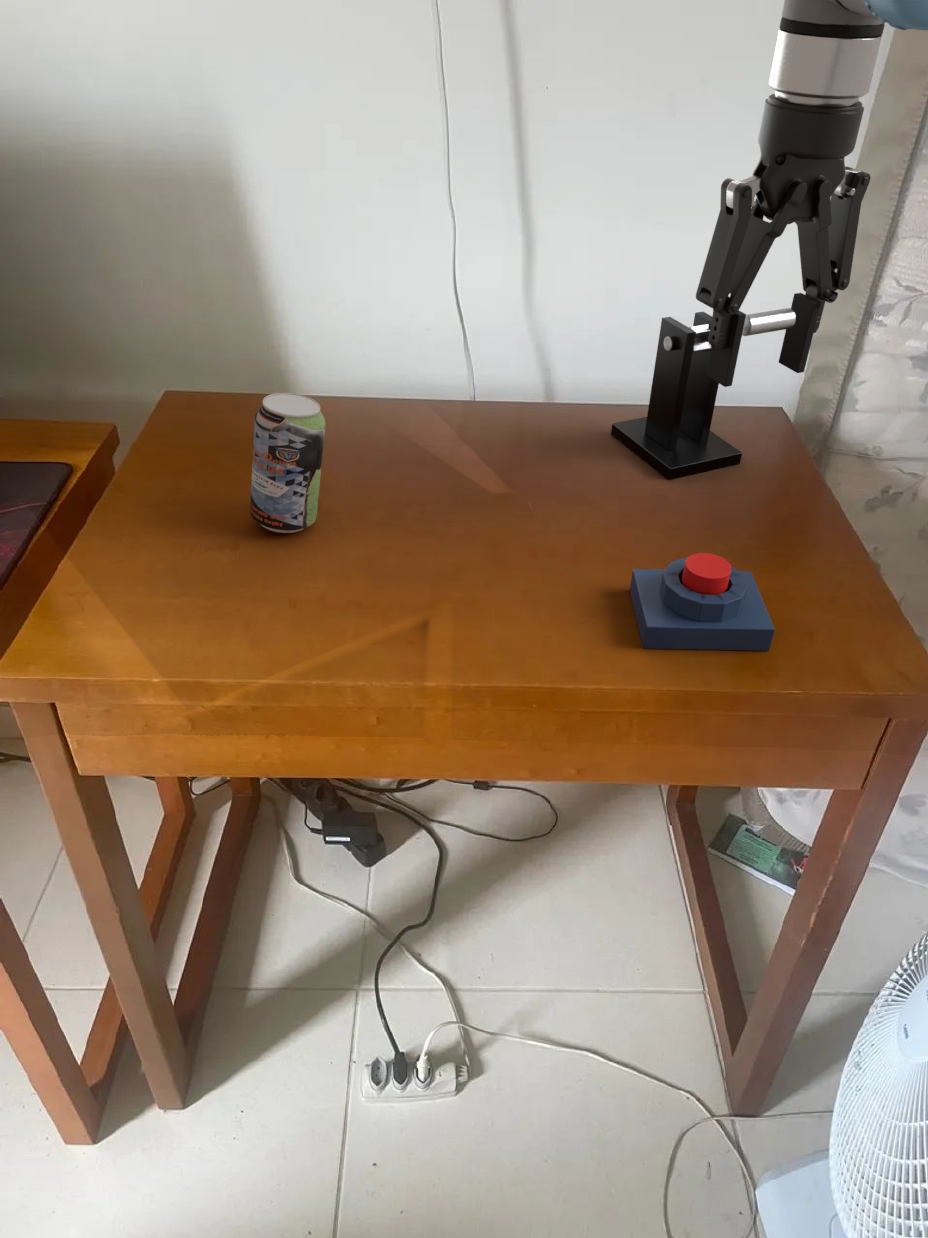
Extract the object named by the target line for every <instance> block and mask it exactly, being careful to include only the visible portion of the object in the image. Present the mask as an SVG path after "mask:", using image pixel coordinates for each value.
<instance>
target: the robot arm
mask: <svg viewBox="0 0 928 1238" xmlns="http://www.w3.org/2000/svg"><path fill="white" fill-rule="evenodd" d="M782 6H783V7H782V12H781V18H780V23H779V29H778V32H777V39H776V44H775V48H774V54H773V58H772V64H771V69H770V75H769V80H768V85H769V86H770V88H771V90H774V93H771V94H770V95H769V96H768V98H766V99H765V100H764V105H763V109H762V115H761V121H760V126H759V130H758V131H759V132H758V137H757V143H758V146H759V151H760V157H759V160H758V162H757V165H756V166H755V168H754V170H753V171H752V174H751V176H748V177H745V178H742V179H739V180H736V179H732V178H730V177H727V178H725V179H724V180H723V181H722V183H721V185H720V210H719V213H718V216H717V220H716V223H715V227H714V231H713V234H712V238H711V241H710V244H709V247H708V250H707V255H706V258H705V261H704V265H703V269H702V271H701V276H700V277H699V282H698V286H697V288H696V292H695V299H696V300H697V301H698V302H700V303H702V304H703V305H705V306H708V307H709V308H711V309H712V315H711V316H712V321H711V328H710V333H709V338H708V340H709V344H710V345H712V350H711V355H710V361H709V366H708V372H707V376H708V377H710V378H711V379H713V380H715V381H716V382H718V383H719V385H721V386H722V387H724V388H727V387H732V386H733V381H734V376H735V371H736V366H737V362H738V357H739V352H740V348H741V347H740V346H741V341H742V337H743V335H742V333H743V328H744V323H745V318H746V315H747V314H746V313H745V312H742V310H741V307H742V305H743V303H744V301H745V299H746V298H747V295H748V293H749V291H750V289H751V288H752V286H753V283H754V281H755V279H756V277H757V276H758V274H759V271H760V269H761V268H762V266H763V263H764V262H765V260H766V258H767V256H768V254H769V252H770V250H771V248H772V246H773V243H774V242H775V240H776V239H777V238H780V237H781V236H782V235H783V234H784V232H785V230H786V227H787V226H788V225H791V224H793V223H795V225H796V227H797V236H798V237H797V238H798V248H799V259H800V269H801V280H802V290H803V292H805V293H802V292H797V293H793V297H792V302H791V307H790V309H792V310H793V311H794V313H795V316H796V321H795V324H794V326H793V327H792V328H790V329H785V332H784V337H783V341H782V346H781V349H780V353H779V354H780V355H779V358H778V363H779V364H780V365H782V366H783V367H785V368H787V369H789V370H791V371H793V372H794V373H797V374H801V373H805V369H806V365H807V361H808V357H809V355H810V349H811V345H812V341H813V337H814V334H816V333H817V332H818V330H819V328H820V324H821V320H822V316H823V312H824V308H825V305H826V303H828V304H832V303H834V302H835V301H836V300H837V299H838V297H839V292H837V290H839V291H845V290H846V289H847V288H848V287H849V285H850V282H851V276H852V275H851V274H852V268H853V262H854V255H855V249H856V242H857V235H858V228H859V221H860V215H861V207H862V202H863V201H864V197H865V195H866V193H867V190H868V187H869V185H870V182H871V174H870V173H868V172H866V171H862V170H859V169H856V168H853V167H850V166H846V163H845V158H846V157H847V156H849V155H850V154H852V153H853V152H854V150H855V148H856V144H857V140H858V136H859V131H860V128H861V123H862V119H863V115H864V111H865V107H864V105H863V103H862V102H861V101H860V98H863V97H864V96H866V95H867V94H869V93H870V88H871V84H872V79H873V75H874V71H875V67H876V63H877V59H878V55H879V50H880V46H881V41H882V37H883V34H884V30H885V27H886V24H888V25H889V26H890V27H891V28H894V29H897V30H901V31H907V30H916V31H917V30H919V31H928V0H784V1H783V5H782ZM755 197H756V198H755ZM764 218H766V219H767V220H769V222H768V221H767V220H764Z"/></svg>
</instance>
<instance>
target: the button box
mask: <svg viewBox="0 0 928 1238" xmlns="http://www.w3.org/2000/svg"><path fill="white" fill-rule="evenodd" d="M688 557H689V556H686V557H683V558H679V559H676V560H674V561H671V562H670V563H669V564H668V565H667V566H666V568H665V569H656V568H655V569H653V568H652V569H650V568H649V569H648V568H647V569H646V568H644V569H643V568H633V569H632V573H631V579H630V585H629V593H630V597H631V601H632V605H633V610H634V615H635V618H636V623H637V627H638V631H639V636H640V640H641V645H642V648H643V649H651V650H652V649H653V650H656V649H657V650H700V651H706V650H707V651H752V652H755V651H756V652H757V651H758V652H760V651H761V652H769V651H770V649H771V646H772V642H773V639H774V636H775V631H776V628H775V626H774V623H773V621H772V618H771V616H770V614H769V611H768V609H767V606H766V604H765V601H764V599H763V597H762V595H761V592H760V590H759V587H758V584H757V581H756V580H755V577H754V575H753V572H752V571H747V570H746V571H745V570H738V569H737V568H735V567H734V566H732V565H731V574H730V578H729V583H728V587H727V590H726V591H725V592H724V593H722V594H719V595H702V594H699V593H696V592H693V591H690V590H689V589H687V588H686V587H685V586H684V585H683V583H682V576H683V570H684V565H685V561H686V559H687V558H688Z"/></svg>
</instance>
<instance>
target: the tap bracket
mask: <svg viewBox="0 0 928 1238" xmlns="http://www.w3.org/2000/svg"><path fill="white" fill-rule="evenodd" d="M712 316H713V315H710V314H708V313H707V312H705V311H698V312H695V313H694V318H693V324H692V326H698V325H704V324H709V330H710V328H711V321H712ZM689 327H690V326H688V325H686V324H683V323H682V322H680V321H678V320H677V319H675V318H673V317H671V316H665V317H661V322H660V329H659V335H658V340H657V341H658V342H657V347H656V355H655V362H654V368H653V373H652V374H653V375H652V381H651V388H650V395H649V402H648V407H647V413H646V414H647V416H643V417H638V418H634V419H627V420H623V421H618V422H613V423H612V424H611V429H610V435H611V436H612V437H614V438H615V439H616V440H618V441H619V442H620V443H621V444H623V445H624V446H625V447H626V448H627V449H629V450H630V451H632V452H633V453H634V454H635V455H637V456H638V457H639V458H640V459H642V460H643V461H644V462H645V463H646V464H648V465H649V466H651V468H653V469H654V470H655V471H657V472H658V474H660V475H662V476H663V477H664V478H665V479H667V480H674V479H678V478H683V477H687V476H691V475H695V474H700V473H704V472H710V471H714V470H718V469H722V468H727V467H731V466H736V465H740V464H741V460H742V456H743V452H742V451H740V450H739V449H738V448H736V447H735V446H734V445H731V444H730V443H729V442H727V441H726V440H725V439H723V438H722V437H721V436H719V435H717V434H716V433H714V432H713V431H711V428H712V427H711V426H712V421H713V416H714V410H715V405H716V400H717V395H718V392H719V391H718V390H719V385H720V384H719V383H718V382H716V381H715V380H713V379H711V378H710V377H708V376H707V372H708V366H709V361H710V355H711V350H712V345H711V349H708V350H703V351H699V352H694V353H693V348H694V342H695V336H696V332H695V331H694V330H692V329H690V328H689Z"/></svg>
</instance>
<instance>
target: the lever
mask: <svg viewBox="0 0 928 1238" xmlns="http://www.w3.org/2000/svg"><path fill="white" fill-rule="evenodd" d="M795 321H796V316H795V313H794V311H793V310H792V309H791V307H786V308H785V307H784V308H780V309H772V310H766V311H761V312H754V313H748V314H746V318H745V323H744V328H743V333H742V337H749V336H755V335H760V334H761V335H762V334H765V333H773V332H778V331H784V330H785V331H786V329H790V328H792V327H793V326H794V324H795ZM688 327H689V328H690V329H692V330H694V331H695V332H696V336H695V342H694V348H693V353H694V352H699V351H703V350H708V349H711V345H710V344H709V340H708V338H709V333H710V330H709V324H704V325H698V326H693V325H692V326H688Z"/></svg>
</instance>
